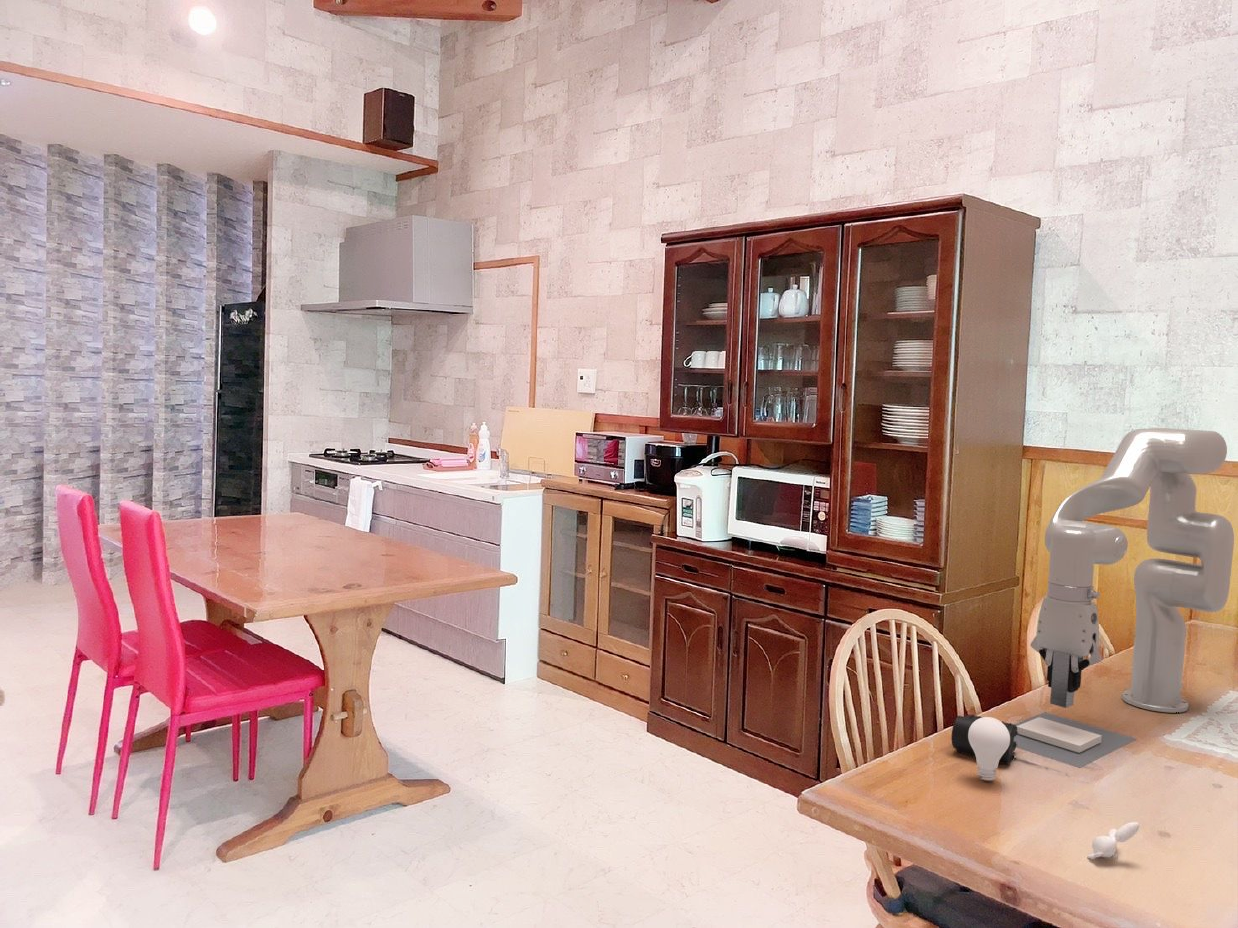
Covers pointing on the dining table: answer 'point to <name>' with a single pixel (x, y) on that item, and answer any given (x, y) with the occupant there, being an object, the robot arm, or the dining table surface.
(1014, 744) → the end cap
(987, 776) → the light bulb
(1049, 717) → the mat
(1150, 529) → the robot arm
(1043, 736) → the tile
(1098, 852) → the rabbit figurine
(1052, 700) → the metal bar
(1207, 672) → the dining table surface
